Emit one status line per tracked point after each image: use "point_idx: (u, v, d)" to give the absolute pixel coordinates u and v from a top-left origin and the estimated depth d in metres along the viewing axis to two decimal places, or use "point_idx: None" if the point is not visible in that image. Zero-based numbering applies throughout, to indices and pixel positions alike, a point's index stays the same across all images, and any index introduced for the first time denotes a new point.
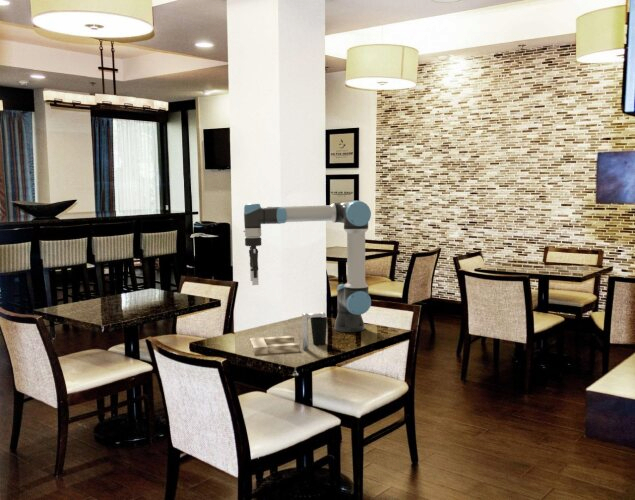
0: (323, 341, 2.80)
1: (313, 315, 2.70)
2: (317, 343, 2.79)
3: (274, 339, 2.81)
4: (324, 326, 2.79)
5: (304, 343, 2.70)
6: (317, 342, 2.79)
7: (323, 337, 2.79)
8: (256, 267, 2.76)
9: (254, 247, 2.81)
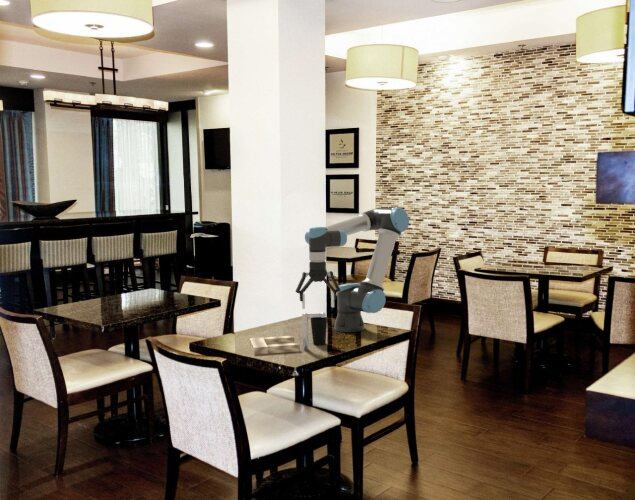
0: (323, 341, 2.80)
1: (313, 315, 2.70)
2: (317, 343, 2.79)
3: (274, 339, 2.81)
4: (324, 326, 2.79)
5: (304, 343, 2.70)
6: (317, 342, 2.79)
7: (323, 337, 2.79)
8: (296, 290, 2.77)
9: (309, 271, 2.78)
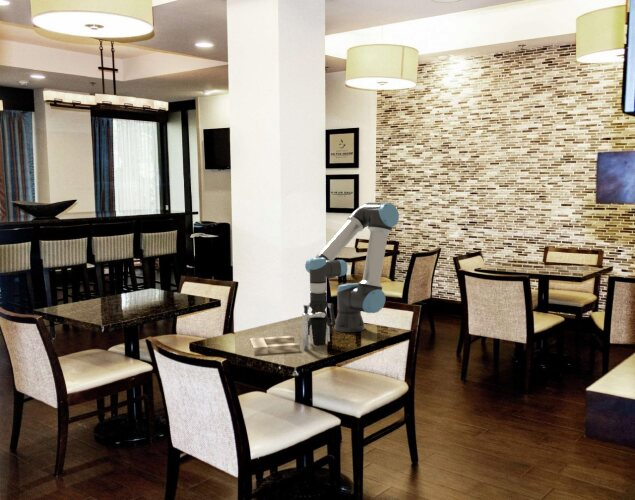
0: (323, 341, 2.80)
1: (313, 315, 2.70)
2: (317, 343, 2.79)
3: (274, 339, 2.81)
4: (324, 326, 2.79)
5: (304, 343, 2.70)
6: (317, 342, 2.79)
7: (323, 337, 2.79)
8: None
9: None
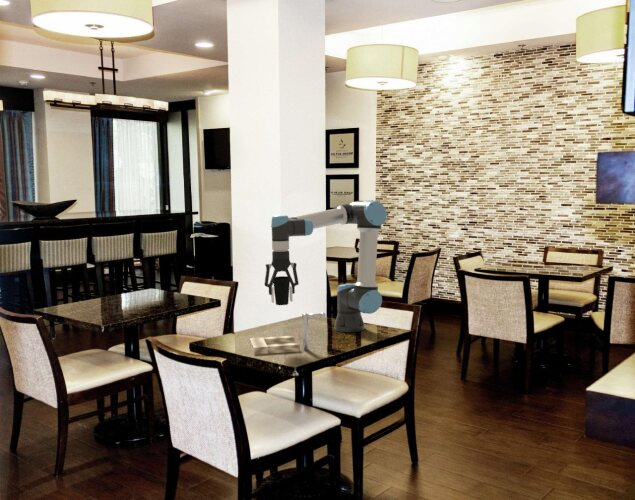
0: (286, 301, 2.73)
1: (313, 315, 2.70)
2: (279, 303, 2.72)
3: (274, 339, 2.81)
4: (286, 285, 2.72)
5: (304, 343, 2.70)
6: (279, 302, 2.72)
7: (285, 297, 2.72)
8: (265, 284, 2.72)
9: None
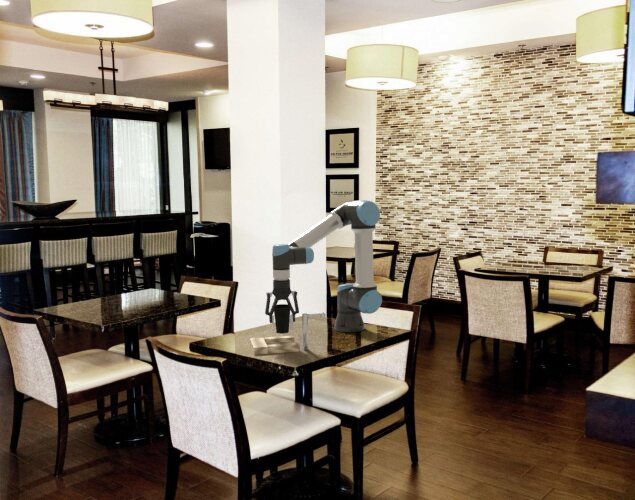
0: (286, 329, 2.74)
1: (313, 315, 2.70)
2: (280, 331, 2.73)
3: (274, 339, 2.81)
4: (287, 314, 2.73)
5: (304, 343, 2.70)
6: (280, 330, 2.73)
7: (286, 325, 2.73)
8: (265, 312, 2.73)
9: None
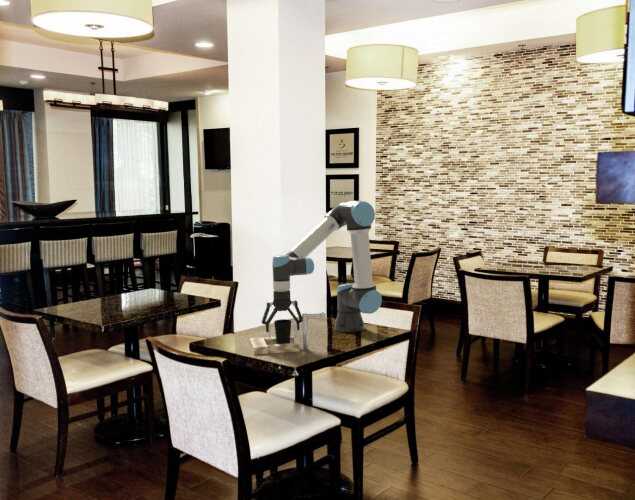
0: None
1: (313, 315, 2.70)
2: None
3: (274, 339, 2.81)
4: (288, 329, 2.74)
5: (304, 343, 2.70)
6: None
7: (287, 340, 2.74)
8: (262, 321, 2.73)
9: (273, 300, 2.74)
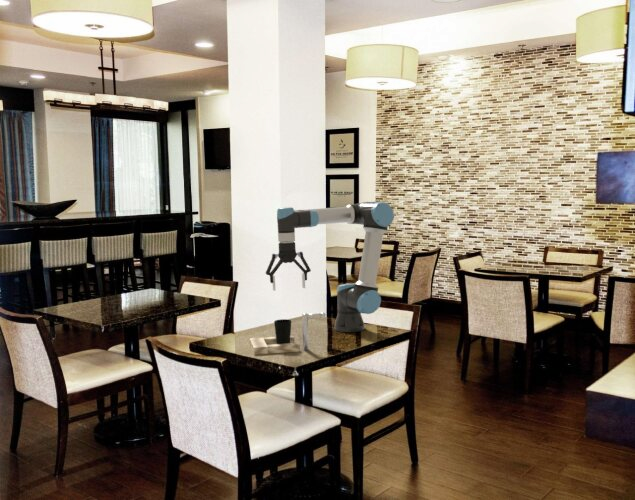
0: None
1: (313, 315, 2.70)
2: None
3: (274, 339, 2.81)
4: (288, 329, 2.74)
5: (304, 343, 2.70)
6: None
7: (287, 340, 2.74)
8: (266, 272, 2.75)
9: (279, 252, 2.76)
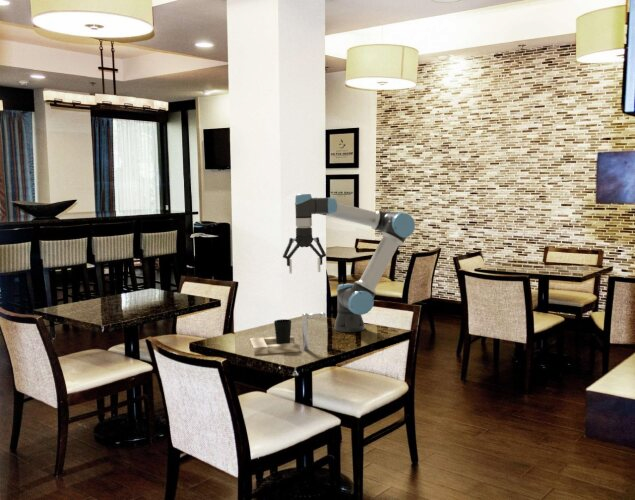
0: None
1: (313, 315, 2.70)
2: None
3: (274, 339, 2.81)
4: (288, 329, 2.74)
5: (304, 343, 2.70)
6: None
7: (287, 340, 2.74)
8: (283, 255, 2.86)
9: (296, 236, 2.87)
